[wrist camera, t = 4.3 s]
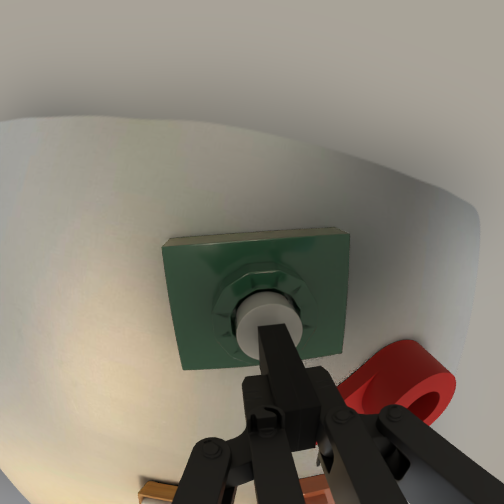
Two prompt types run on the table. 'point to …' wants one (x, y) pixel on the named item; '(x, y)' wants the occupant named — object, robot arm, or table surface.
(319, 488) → the tiered brown pedestal
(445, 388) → the lever
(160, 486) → the soap dish
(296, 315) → the light grey push button
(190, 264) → the green rectangular block
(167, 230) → the table surface
